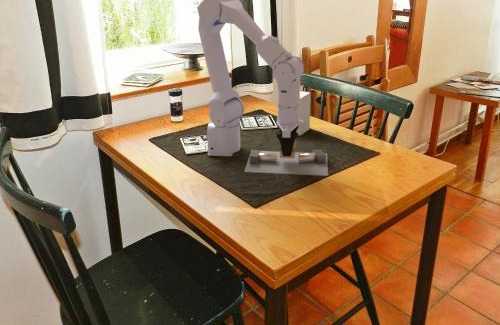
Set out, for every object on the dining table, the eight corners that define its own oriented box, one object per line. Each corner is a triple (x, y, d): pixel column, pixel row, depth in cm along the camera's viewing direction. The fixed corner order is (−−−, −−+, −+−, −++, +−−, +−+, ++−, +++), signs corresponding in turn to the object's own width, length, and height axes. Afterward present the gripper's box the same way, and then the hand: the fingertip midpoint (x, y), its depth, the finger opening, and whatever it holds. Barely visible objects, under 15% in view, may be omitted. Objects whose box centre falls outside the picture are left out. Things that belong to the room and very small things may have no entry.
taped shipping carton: (279, 157, 122) (280, 140, 120) (280, 152, 126) (281, 135, 124) (294, 158, 122) (295, 141, 120) (295, 152, 125) (296, 135, 123)
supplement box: (310, 129, 150) (311, 92, 145) (300, 136, 145) (301, 98, 139) (290, 125, 154) (291, 89, 148) (280, 132, 148) (280, 94, 143)
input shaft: (249, 167, 125) (249, 156, 123) (251, 160, 128) (251, 149, 127) (275, 168, 124) (275, 157, 122) (277, 161, 128) (277, 150, 126)
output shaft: (300, 169, 123) (300, 158, 121) (295, 162, 127) (296, 151, 125) (325, 166, 124) (326, 155, 123) (320, 160, 128) (320, 149, 127)
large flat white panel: (244, 175, 120) (244, 171, 120) (251, 153, 133) (251, 150, 132) (327, 179, 118) (328, 175, 117) (326, 156, 130) (327, 153, 130)
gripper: (303, 114, 111) (301, 164, 116) (304, 96, 124) (302, 142, 129) (274, 113, 112) (274, 163, 117) (278, 96, 125) (278, 141, 130)
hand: (287, 152), depth 123 cm, fingers closed on taped shipping carton, 4 cm apart
